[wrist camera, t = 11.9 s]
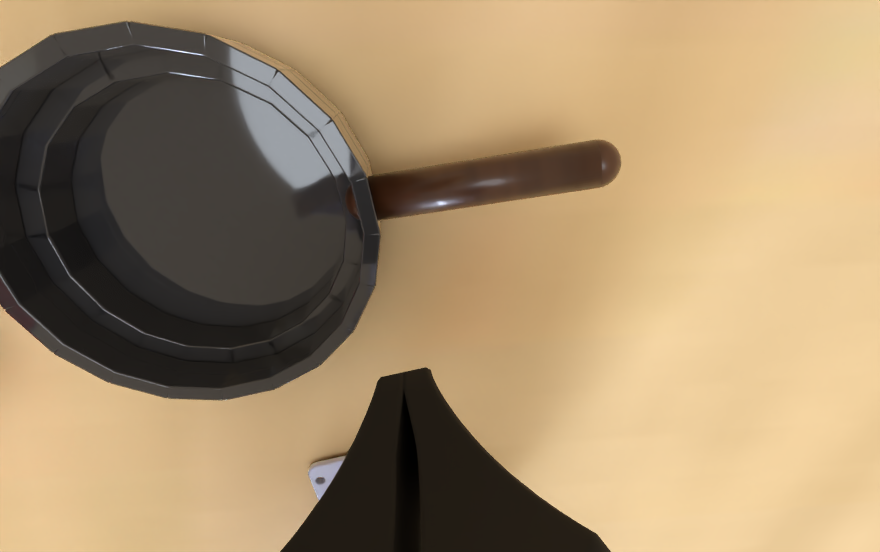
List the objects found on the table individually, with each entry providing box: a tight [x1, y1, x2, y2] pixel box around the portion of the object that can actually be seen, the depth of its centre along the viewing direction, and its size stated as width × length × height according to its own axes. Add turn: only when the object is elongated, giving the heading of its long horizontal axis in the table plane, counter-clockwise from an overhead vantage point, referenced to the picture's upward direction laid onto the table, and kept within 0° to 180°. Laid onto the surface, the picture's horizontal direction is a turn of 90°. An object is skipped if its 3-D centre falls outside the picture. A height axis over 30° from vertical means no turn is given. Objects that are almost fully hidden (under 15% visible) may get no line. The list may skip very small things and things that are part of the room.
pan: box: [0, 21, 381, 400], centre depth 17 cm, size 13×13×4 cm
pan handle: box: [345, 140, 621, 220], centre depth 16 cm, size 10×2×3 cm, turn 100°
